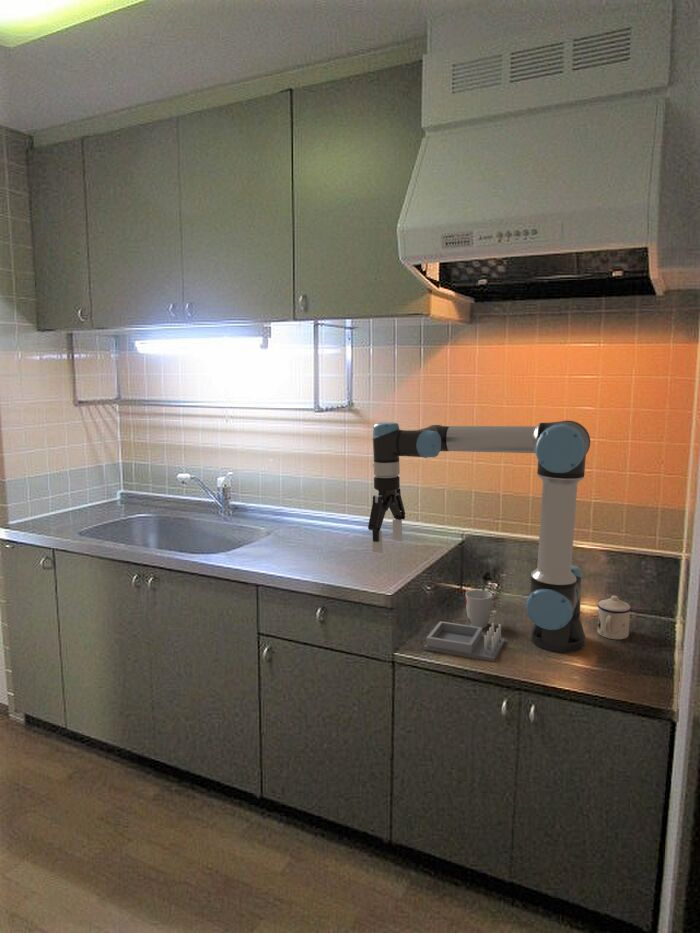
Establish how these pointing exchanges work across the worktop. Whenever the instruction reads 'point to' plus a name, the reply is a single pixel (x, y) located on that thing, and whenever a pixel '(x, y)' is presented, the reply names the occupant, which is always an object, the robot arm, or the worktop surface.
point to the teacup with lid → (613, 618)
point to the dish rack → (465, 641)
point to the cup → (478, 607)
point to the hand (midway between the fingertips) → (387, 546)
